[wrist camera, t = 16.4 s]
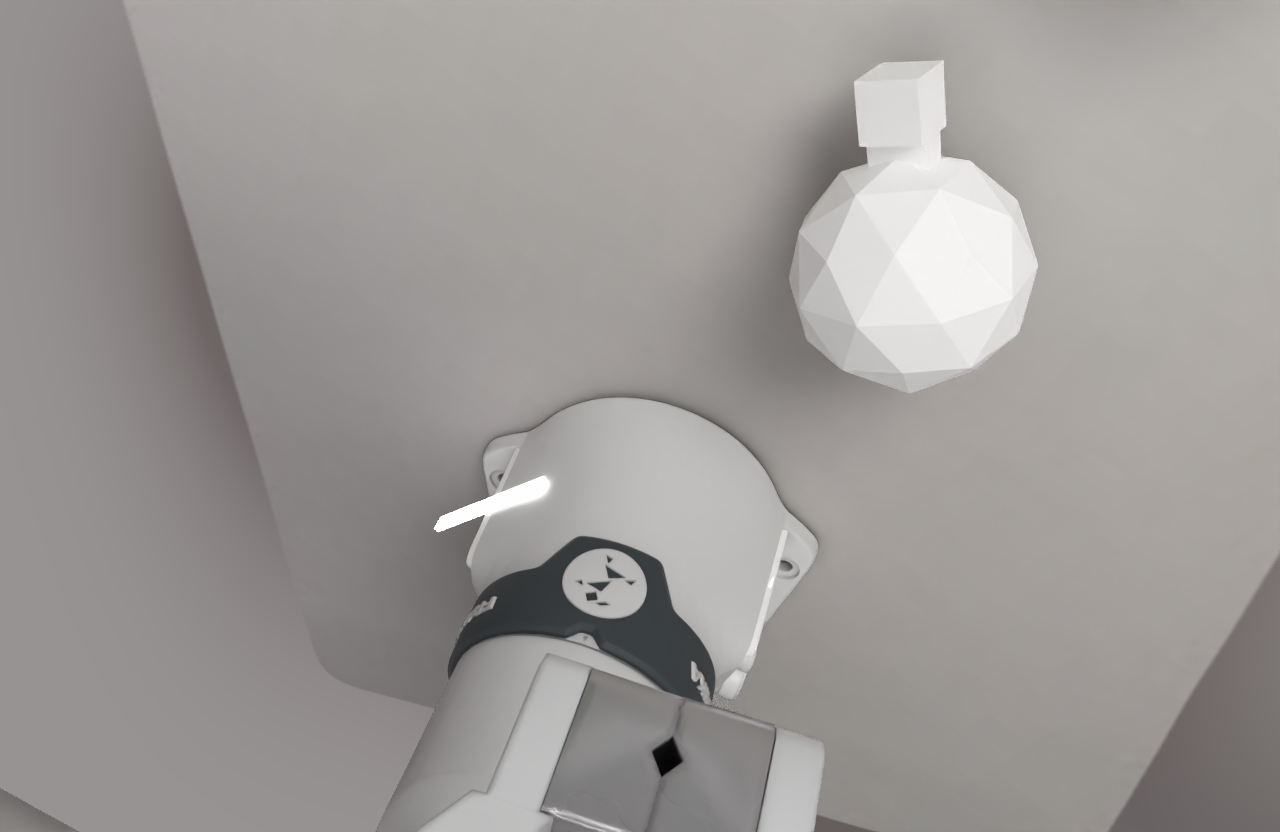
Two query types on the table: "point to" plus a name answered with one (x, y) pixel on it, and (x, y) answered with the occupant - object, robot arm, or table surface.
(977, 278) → the perfume bottle
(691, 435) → the robot arm
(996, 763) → the table surface
